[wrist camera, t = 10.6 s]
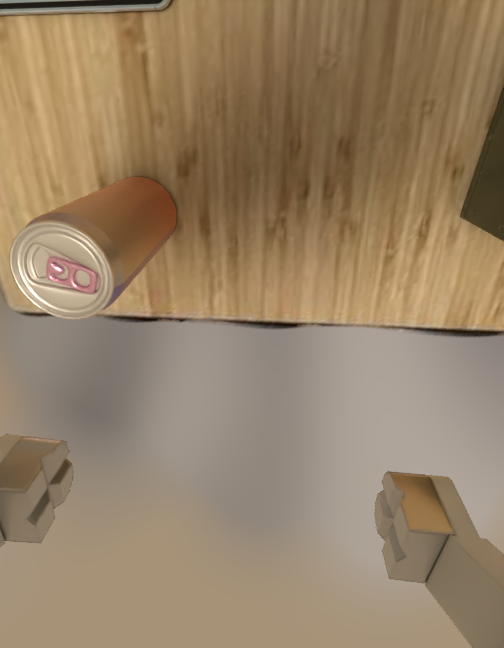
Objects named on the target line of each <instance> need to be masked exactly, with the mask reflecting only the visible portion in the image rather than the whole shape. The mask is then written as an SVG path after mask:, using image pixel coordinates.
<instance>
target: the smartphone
mask: <svg viewBox="0 0 504 648" xmlns="http://www.w3.org/2000/svg"><path fill="white" fill-rule="evenodd" d="M170 1H171V0H0V16H1V15H31V14H62V13H92V12H96V13H99V12H122V11H152V10H162V9H164V8H166V7H167V6H168V4H169V3H170Z"/></svg>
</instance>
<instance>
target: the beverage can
mask: <svg viewBox="0 0 504 648" xmlns="http://www.w3.org/2000/svg"><path fill="white" fill-rule="evenodd" d="M176 221H177V213H176V208H175V205H174V202H173V200H172V198H171V196H170V195H169V193H168V192H167V191H166V190H165V189H164V188H163V187H162V186H161V185H160V184H158V183H157V182H155V181H153V180H151V179H148V178H145V177H130V178H126V179H124V180H122V181H119V182H117V183H115V184H112V185H110V186H108V187H105V188H103V189H101V190H99V191H96V192H94V193H92V194H89V195H87V196H85V197H82V198H80V199H78V200H75V201H73V202H71V203H69V204H66V205H64V206H62V207H59V208H57V209H55V210H52V211H50V212H48V213H46V214H43V215H41V216H39V217H37V218H35V219H33V220H32V221H31V222H30V223H29V224H28V225H27V226H26V227H25V228H24V229H23V230H21V231H20V232H19V233H18V235H17V236H16V237H15V239H14V241H13V243H12V245H11V249H10V255H9V262H10V268H11V272H12V275H13V278H14V280H15V282H16V284H17V286H18V287H19V289H20V290H21V292H22V293H23V294H24V295H25V296H26V297H27V299H28V300H30V301H31V302H32V303H33V304H34V305H35V306H37V307H38V308H40V309H41V310H43V311H45V312H47V313H49V314H51V315H54V316H56V317H60V318H65V319H83V318H87V317H90V316H93V315H95V314H97V313H98V312H100V311H101V310H103V309H105V308H107V307H109V306H110V305H111V304H112V303H113V302H114V301H115V300H116V299H117V298H118V297H119V295H120V294H121V293H122V292H123V291H124V290H125V288H126V287H127V286H128V285H129V284H130V283H131V282H132V280H133V279H134V278H135V277H136V276H137V275H138V273H139V272H140V271H141V270H142V269H143V268H144V267H145V265H146V264H147V263H148V262H149V261H150V260H151V258H152V257H153V256H154V255H155V254H156V253H157V251H158V250H159V249H160V248H161V247H162V246H163V245H164V243H165V242H166V241H167V240H168V239H169V238H170V236H171V235H172V233H173V232H174V229H175V226H176Z"/></svg>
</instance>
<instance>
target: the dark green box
mask: <svg viewBox="0 0 504 648" xmlns="http://www.w3.org/2000/svg"><path fill="white" fill-rule="evenodd" d="M460 217H461V218H463V219H465V220H467V221H469V222H470V223H472V224H474V225H476V226H478V227H479V228H481V229H483V230H485V231H486V232H488V233H490V234H492V235H493V236H495V237H497V238H499V239H500V240H502V241H504V88H503V91H502V94H501V97H500V100H499V103H498V106H497V109H496V112H495V115H494V118H493V121H492V124H491V127H490V130H489V133H488V136H487V139H486V142H485V145H484V148H483V151H482V154H481V156H480V159H479V162H478V165H477V168H476V171H475V174H474V177H473V180H472V183H471V186H470V189H469V192H468V195H467V198H466V201H465V204H464V207H463V210H462V213H461V216H460Z"/></svg>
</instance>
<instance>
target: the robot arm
mask: <svg viewBox="0 0 504 648" xmlns="http://www.w3.org/2000/svg"><path fill="white" fill-rule="evenodd" d="M68 453H69V447H68V444H67V442H65V441H62V440H54V439H46V438H37V437H29V436H18V435H10V434H6V435H4V436H2V437H0V547H1V546H2V545H4V544H5V541H14V542H28V543H41V542H42V541H43V539H44V537H45V535H46V533H47V531H48V530H49V528H50V526H51V525H52V523H53V521H54V519H55V515H54V510H53V509H55V508H56V507H57V506H59V505H60V504H62V503H63V502H64V501H65V499H66V497H67V495H68V493H69V491H70V488H71V485H72V481H73V466H72V463H71V462H69V460H67V459H66V456H67V455H68ZM382 484H383V488H384V490H383V491H381V492H380V493H378V495H377V499H376V502H375V522H376V527H377V531H378V534H379V535H380V536H381V537H382V538H383V539H384V540H385V544H384V547H383V550H382V552H383V556H384V560H385V564H386V568H387V572H388V576H389V579H395V580H403V581H410V582H418V583H426V584H425V586H426V587H427V589H428V590H429V591H430V593H431V594H432V595H433V596H434V598H435V599H436V600H437V602H438V603H439V604H440V606H441V607H442V608H443V610H444V611H445V612H446V614H447V615H448V616H449V618H450V619H451V620H452V621H453V623H454V624H455V625H456V627H457V628H458V629H459V630H460V632H461V633H462V635H463V636H464V637H465V639H466V640H467V641H468V642H469V644H470V645H471V646H472V648H504V554H503V553H502V552H501V551H499V550H498V549H497V548H496V547H495V546H494V545H493V544H491V543H490V542H489V541H488V540H487V539H482V538H480V537H479V535H478V533H477V531H476V529H475V527H474V525H473V523H472V521H471V519H470V517H469V514H468V513H467V510H466V508H465V506H464V504H463V502H462V500H461V498H460V496H459V494H458V492H457V490H456V488H455V486H454V484H453V482H452V480H451V479H450V478H449V477H443V476H432V475H422V474H411V473H399V472H386V473H385V475H384V477H383V480H382Z"/></svg>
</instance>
